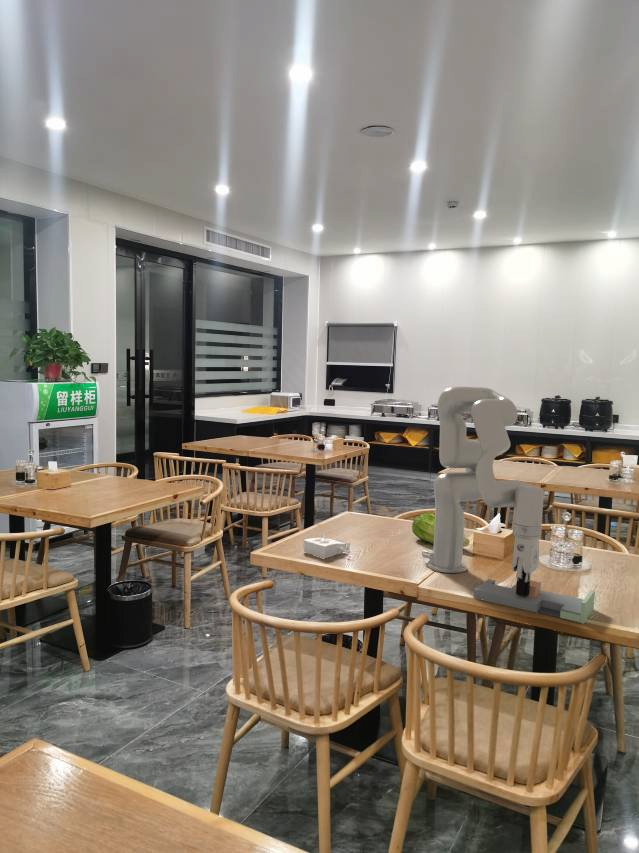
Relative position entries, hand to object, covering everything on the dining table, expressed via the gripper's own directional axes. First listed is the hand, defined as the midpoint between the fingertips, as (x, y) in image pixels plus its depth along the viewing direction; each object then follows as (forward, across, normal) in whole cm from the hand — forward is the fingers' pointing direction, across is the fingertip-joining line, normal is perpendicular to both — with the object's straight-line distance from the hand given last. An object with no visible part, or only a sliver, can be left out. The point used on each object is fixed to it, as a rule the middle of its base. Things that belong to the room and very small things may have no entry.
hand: (522, 594), depth 178 cm
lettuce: (+3, +45, +43) cm, 63 cm away
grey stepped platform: (+3, +4, -2) cm, 5 cm away
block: (+1, +5, 0) cm, 5 cm away
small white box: (+4, +8, +70) cm, 70 cm away
